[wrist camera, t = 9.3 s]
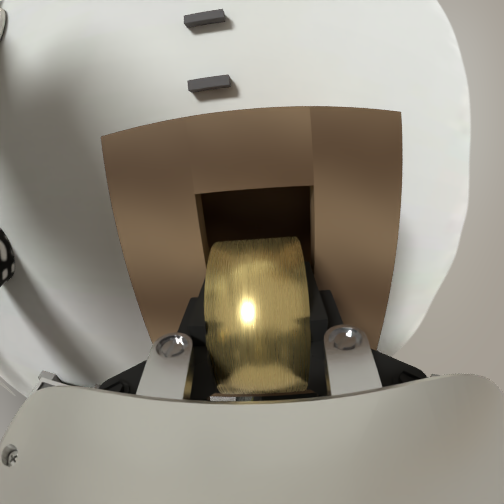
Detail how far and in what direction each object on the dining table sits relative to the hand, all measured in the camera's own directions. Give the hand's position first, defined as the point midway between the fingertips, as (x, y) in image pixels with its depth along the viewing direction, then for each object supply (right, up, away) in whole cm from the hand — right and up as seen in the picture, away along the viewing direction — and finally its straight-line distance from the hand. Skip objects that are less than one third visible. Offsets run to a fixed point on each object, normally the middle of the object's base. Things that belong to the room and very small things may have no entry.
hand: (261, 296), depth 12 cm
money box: (0, +5, +10) cm, 11 cm away
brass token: (0, -4, -1) cm, 4 cm away
